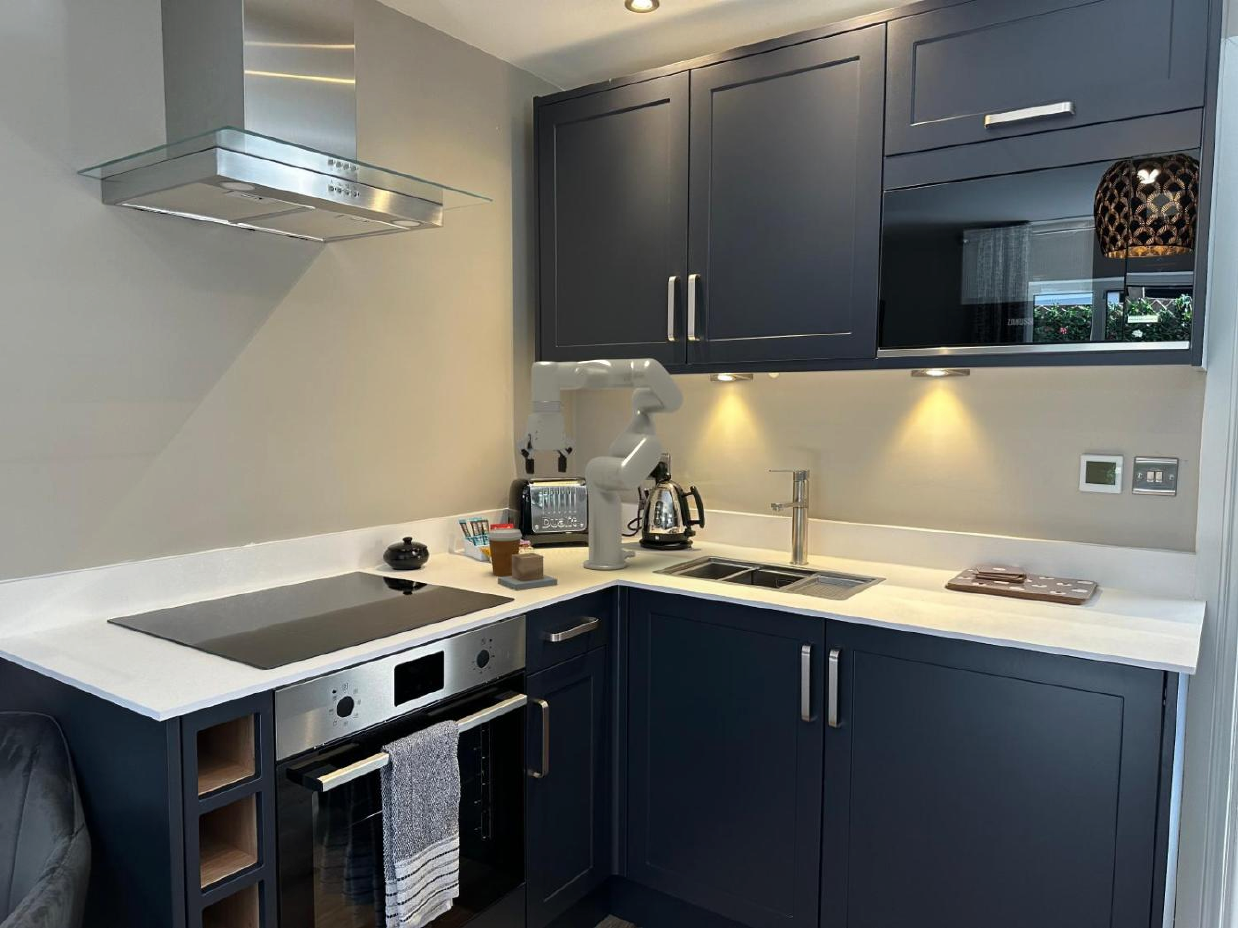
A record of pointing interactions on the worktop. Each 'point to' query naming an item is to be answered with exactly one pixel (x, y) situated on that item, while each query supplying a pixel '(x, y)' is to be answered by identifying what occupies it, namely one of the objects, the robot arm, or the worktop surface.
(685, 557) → the worktop surface
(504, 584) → the slate board
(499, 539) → the disposable coffee cup
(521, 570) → the walnut cube
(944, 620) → the worktop surface
